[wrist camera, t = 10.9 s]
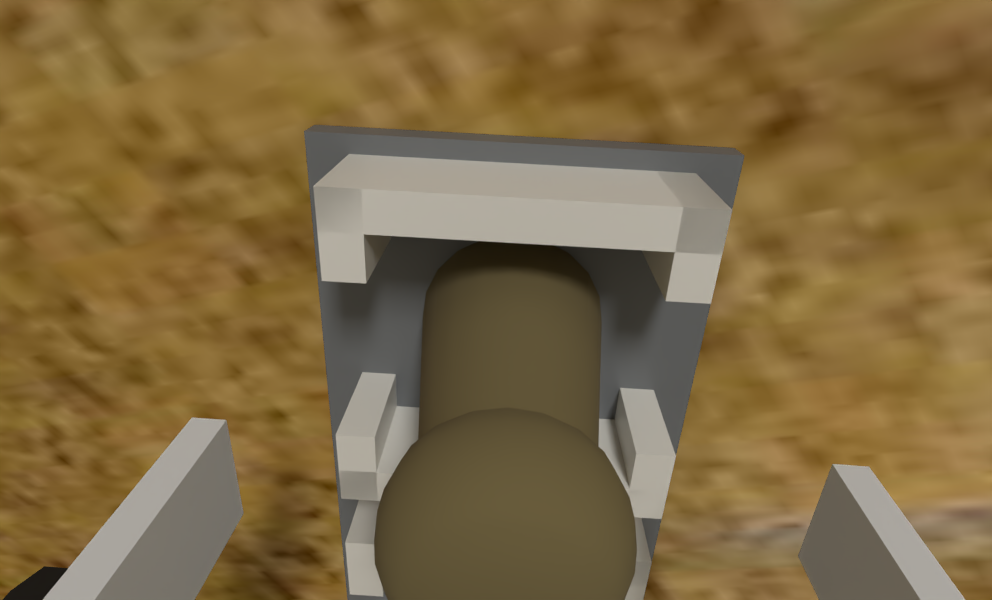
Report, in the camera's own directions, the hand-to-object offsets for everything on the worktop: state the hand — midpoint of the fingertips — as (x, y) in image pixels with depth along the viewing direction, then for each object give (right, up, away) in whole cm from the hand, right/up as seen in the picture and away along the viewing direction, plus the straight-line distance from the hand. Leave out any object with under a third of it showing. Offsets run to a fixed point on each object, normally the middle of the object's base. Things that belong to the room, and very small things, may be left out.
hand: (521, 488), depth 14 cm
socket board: (0, -1, +11) cm, 11 cm away
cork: (0, +4, +7) cm, 8 cm away
